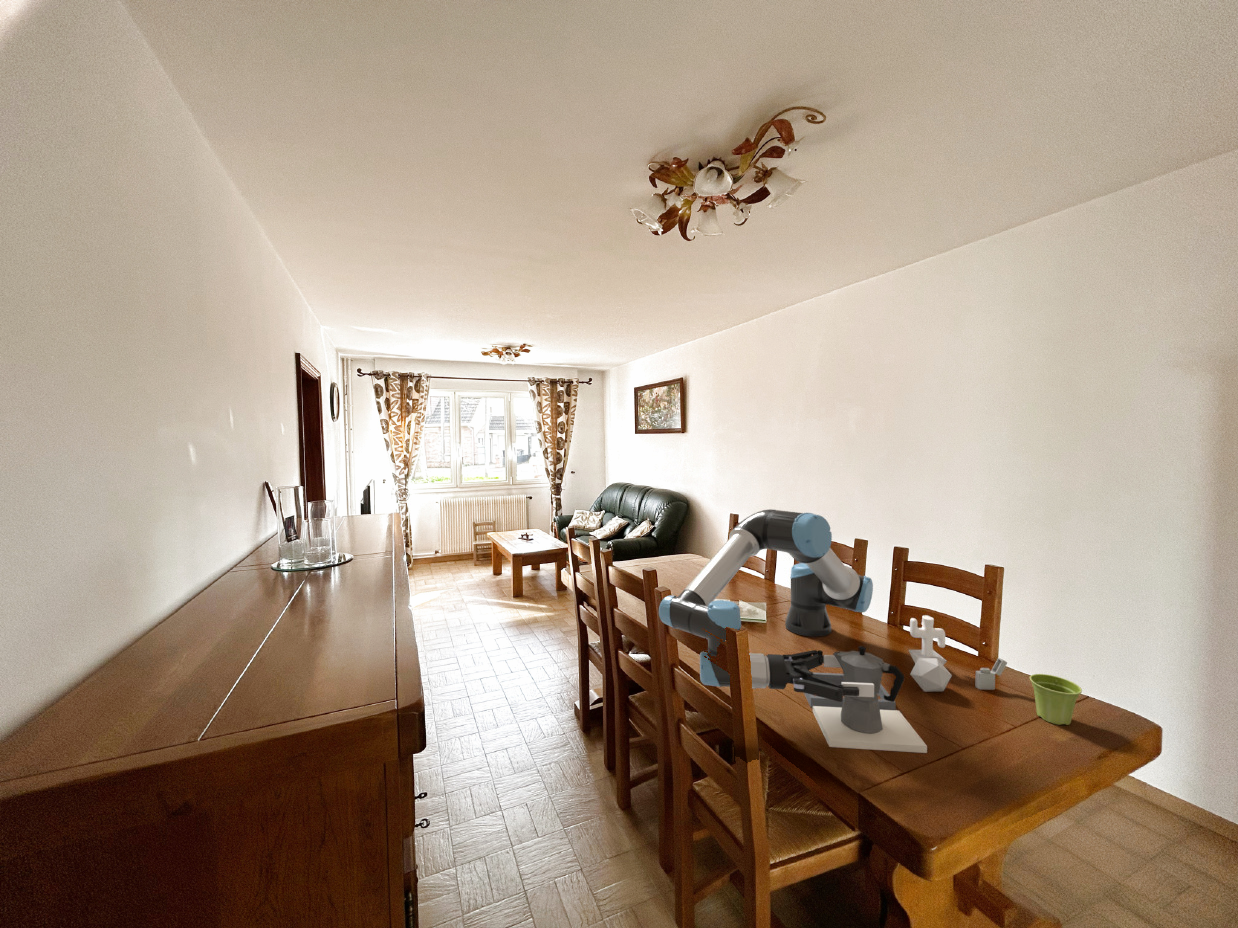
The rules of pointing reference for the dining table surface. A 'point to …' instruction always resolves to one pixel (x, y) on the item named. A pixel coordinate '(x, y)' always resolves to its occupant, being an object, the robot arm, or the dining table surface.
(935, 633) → the figurine
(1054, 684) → the plant pot
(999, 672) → the lighter
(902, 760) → the dining table surface
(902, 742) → the trivet
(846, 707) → the coffeepot
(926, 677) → the die
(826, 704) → the rimmed stand
